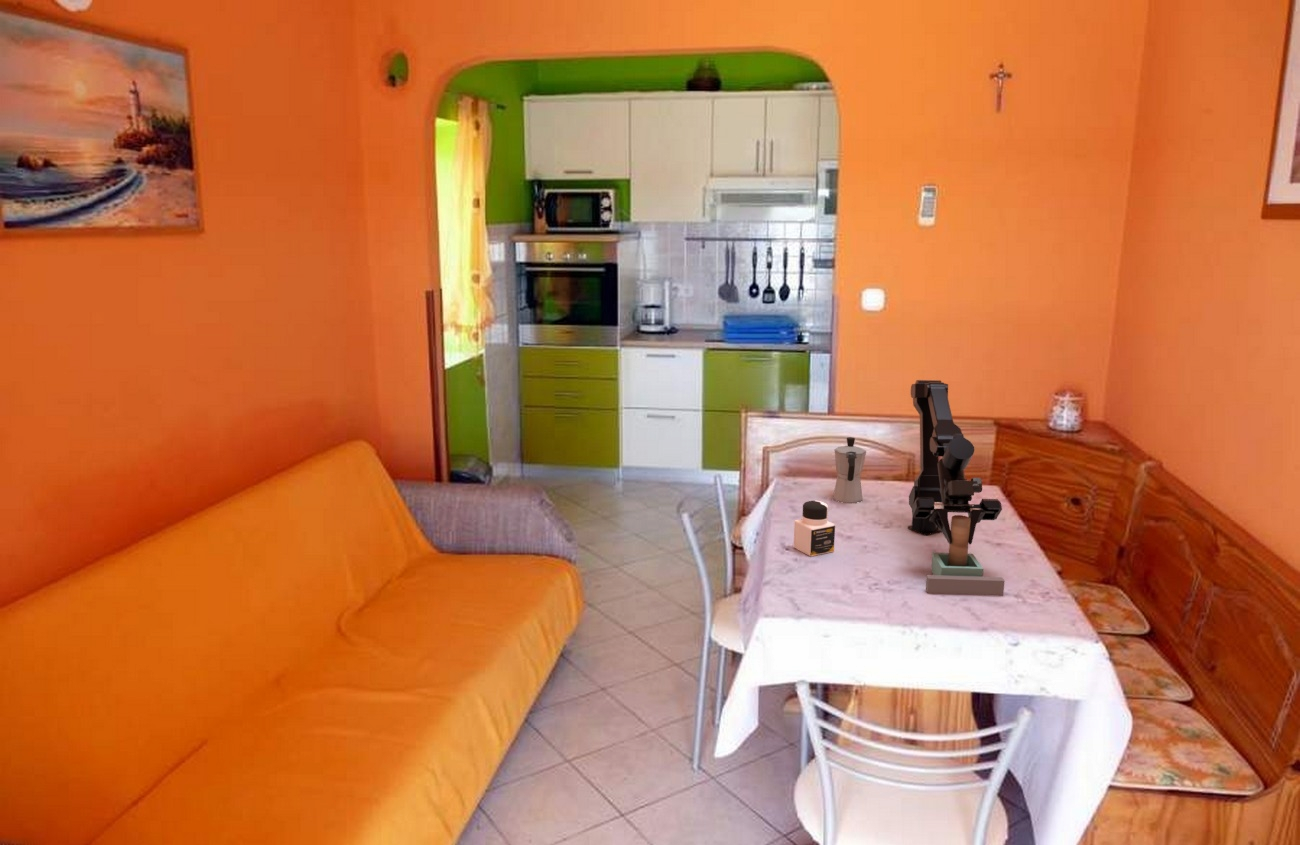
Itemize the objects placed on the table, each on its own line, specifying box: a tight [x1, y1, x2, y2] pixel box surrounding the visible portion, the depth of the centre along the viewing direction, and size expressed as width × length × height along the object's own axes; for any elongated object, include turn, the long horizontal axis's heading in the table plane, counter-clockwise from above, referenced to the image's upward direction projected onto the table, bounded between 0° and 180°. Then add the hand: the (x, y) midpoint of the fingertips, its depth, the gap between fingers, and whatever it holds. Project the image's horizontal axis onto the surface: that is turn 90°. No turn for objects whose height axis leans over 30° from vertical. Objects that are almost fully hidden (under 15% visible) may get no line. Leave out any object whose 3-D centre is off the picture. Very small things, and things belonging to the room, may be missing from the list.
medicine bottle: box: [793, 500, 836, 557], centre depth 228 cm, size 7×7×12 cm
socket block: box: [930, 552, 984, 577], centre depth 211 cm, size 9×9×4 cm
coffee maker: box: [832, 436, 867, 504], centre depth 265 cm, size 15×9×18 cm, turn 172°
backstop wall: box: [925, 574, 1005, 597], centre depth 204 cm, size 2×16×4 cm, turn 86°
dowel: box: [948, 514, 971, 567], centre depth 209 cm, size 4×4×12 cm
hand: (960, 543), depth 208 cm, fingers closed on dowel, 4 cm apart
